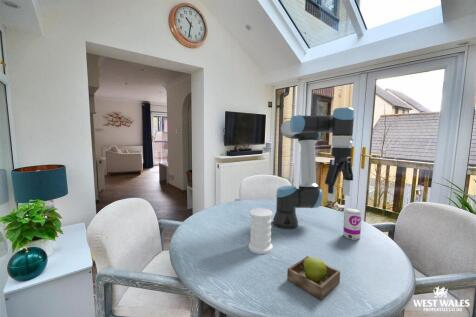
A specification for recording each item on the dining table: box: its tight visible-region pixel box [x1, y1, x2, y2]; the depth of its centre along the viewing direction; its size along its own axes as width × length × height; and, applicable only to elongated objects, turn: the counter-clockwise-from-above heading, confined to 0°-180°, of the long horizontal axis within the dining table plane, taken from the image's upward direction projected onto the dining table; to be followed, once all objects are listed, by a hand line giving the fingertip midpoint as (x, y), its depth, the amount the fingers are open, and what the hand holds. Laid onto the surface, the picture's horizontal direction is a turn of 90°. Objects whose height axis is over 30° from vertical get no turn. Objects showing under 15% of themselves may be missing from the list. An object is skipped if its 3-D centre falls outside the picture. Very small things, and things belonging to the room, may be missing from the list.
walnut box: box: [286, 255, 341, 301], centre depth 81 cm, size 14×14×4 cm
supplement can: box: [342, 207, 363, 241], centre depth 117 cm, size 8×8×15 cm
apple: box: [301, 256, 327, 282], centre depth 81 cm, size 8×9×8 cm
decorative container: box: [248, 207, 273, 255], centre depth 105 cm, size 12×12×18 cm
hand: (338, 198), depth 90 cm, fingers open, 13 cm apart
